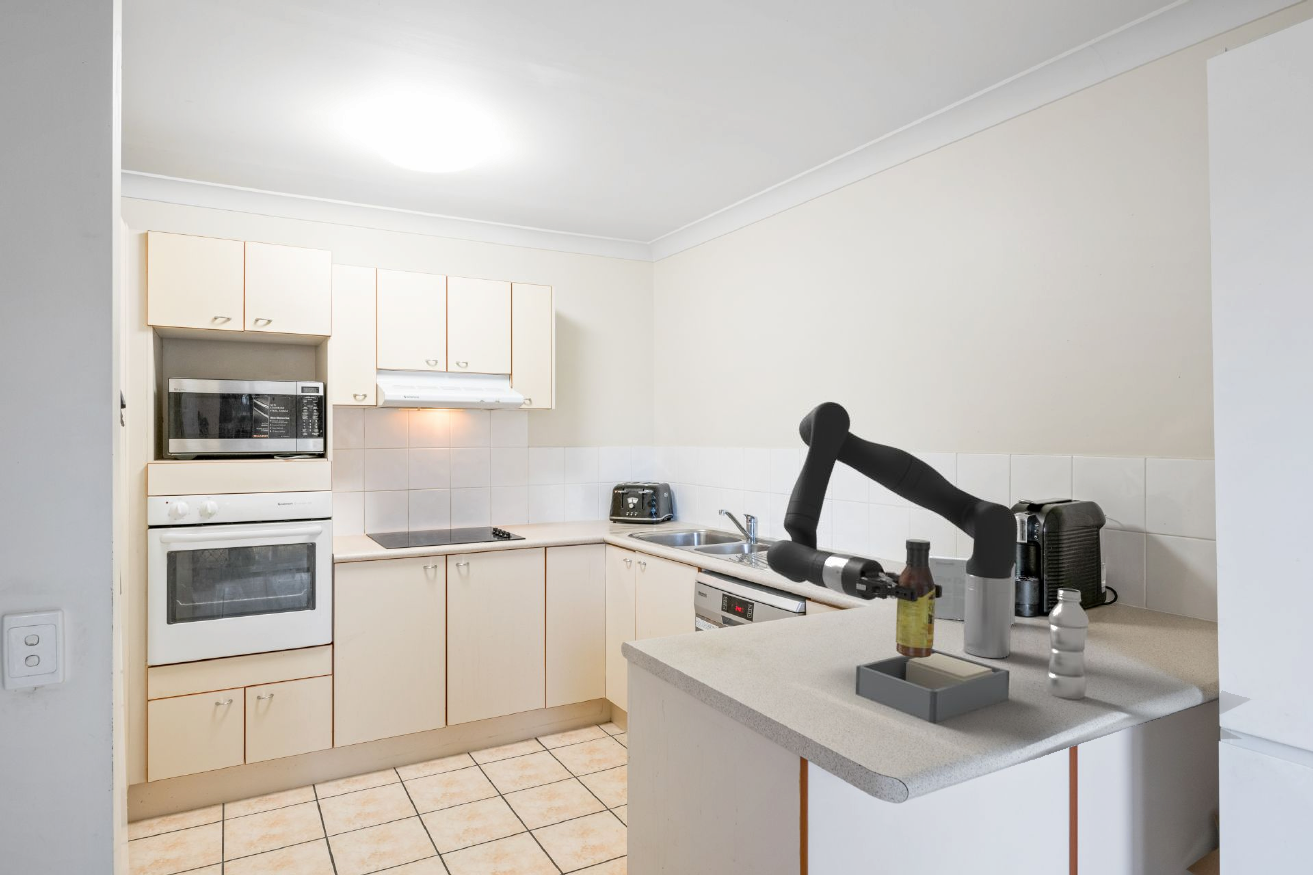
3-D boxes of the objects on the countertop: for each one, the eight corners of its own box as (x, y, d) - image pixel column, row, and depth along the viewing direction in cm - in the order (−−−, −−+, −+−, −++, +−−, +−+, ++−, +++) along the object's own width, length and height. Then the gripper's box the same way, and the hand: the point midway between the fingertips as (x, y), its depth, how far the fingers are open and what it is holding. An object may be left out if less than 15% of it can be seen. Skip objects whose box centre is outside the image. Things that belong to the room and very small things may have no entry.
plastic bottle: (1037, 693, 143) (1041, 586, 143) (1071, 692, 144) (1075, 586, 144) (1058, 705, 137) (1062, 593, 137) (1094, 705, 138) (1098, 594, 137)
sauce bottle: (935, 661, 130) (940, 544, 130) (896, 657, 132) (902, 542, 131) (929, 649, 137) (935, 539, 136) (893, 646, 138) (898, 536, 138)
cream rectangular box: (935, 678, 148) (935, 652, 147) (993, 696, 138) (994, 669, 138) (905, 686, 142) (906, 659, 142) (963, 706, 132) (964, 677, 132)
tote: (930, 679, 150) (931, 648, 150) (1008, 704, 137) (1009, 670, 137) (855, 699, 137) (856, 665, 137) (933, 729, 124) (934, 692, 124)
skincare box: (1012, 621, 199) (1014, 560, 199) (1015, 626, 194) (1017, 563, 194) (926, 613, 206) (928, 554, 206) (926, 617, 201) (928, 557, 201)
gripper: (827, 558, 142) (903, 575, 128) (878, 553, 150) (954, 569, 136) (825, 599, 142) (901, 620, 128) (876, 591, 150) (952, 611, 136)
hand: (928, 593), depth 132 cm, fingers closed on sauce bottle, 6 cm apart
